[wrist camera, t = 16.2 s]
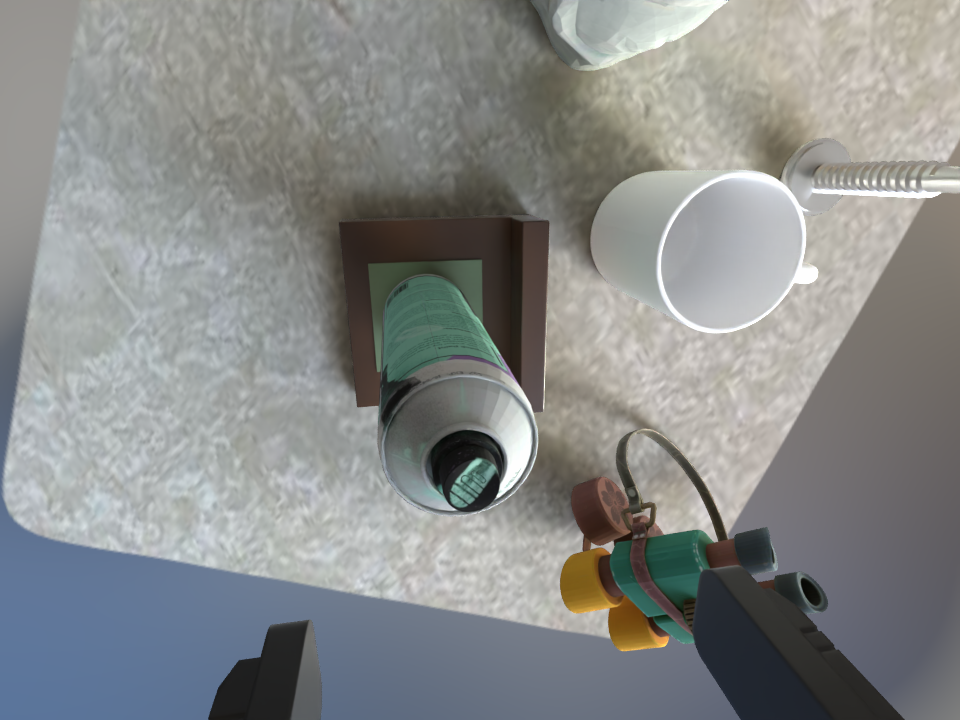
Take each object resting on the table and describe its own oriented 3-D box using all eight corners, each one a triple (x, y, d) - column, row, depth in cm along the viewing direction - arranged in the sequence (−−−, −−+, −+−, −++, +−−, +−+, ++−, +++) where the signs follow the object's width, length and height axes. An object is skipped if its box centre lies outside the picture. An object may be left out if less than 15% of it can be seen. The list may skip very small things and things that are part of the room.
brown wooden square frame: (358, 396, 37) (354, 427, 33) (341, 219, 33) (333, 226, 29) (526, 383, 39) (544, 412, 34) (528, 214, 35) (549, 220, 31)
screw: (839, 152, 37) (808, 221, 38) (782, 130, 36) (752, 202, 37) (1057, 142, 25) (1000, 244, 26) (981, 109, 24) (926, 217, 25)
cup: (607, 156, 35) (688, 151, 25) (763, 199, 37) (890, 208, 28) (572, 281, 37) (634, 318, 28) (721, 313, 40) (825, 356, 30)
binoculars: (557, 429, 45) (524, 602, 34) (717, 358, 36) (744, 558, 25) (652, 521, 49) (651, 701, 38) (813, 478, 41) (870, 690, 30)
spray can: (377, 350, 34) (362, 561, 16) (390, 265, 33) (391, 389, 14) (460, 362, 35) (538, 572, 17) (476, 281, 34) (584, 414, 15)
